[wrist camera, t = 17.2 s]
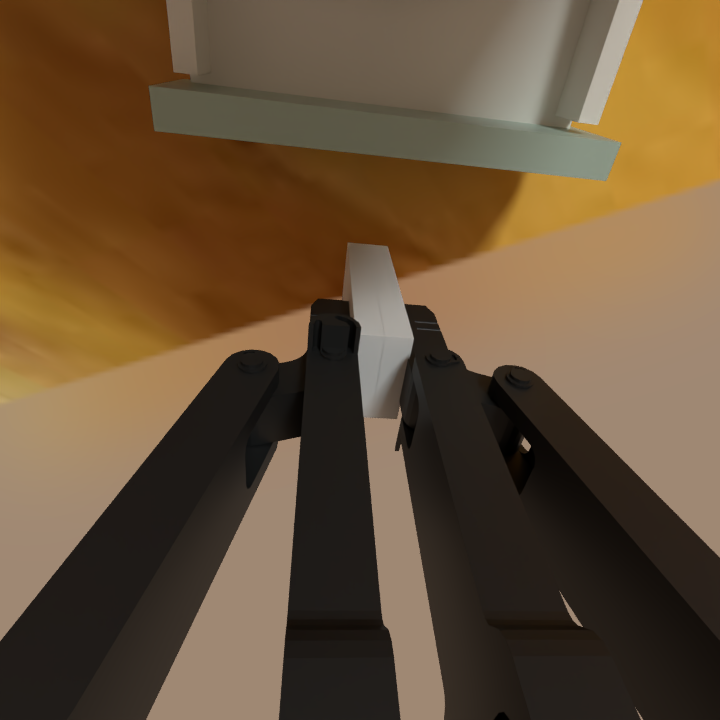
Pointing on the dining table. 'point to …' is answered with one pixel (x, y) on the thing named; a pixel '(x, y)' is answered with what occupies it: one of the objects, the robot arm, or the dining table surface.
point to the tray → (402, 78)
